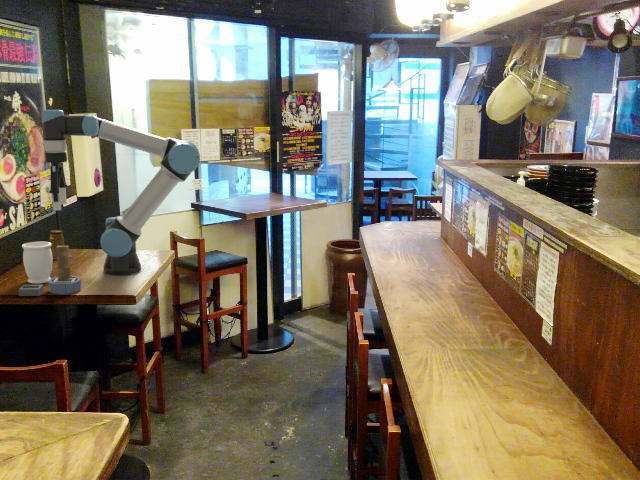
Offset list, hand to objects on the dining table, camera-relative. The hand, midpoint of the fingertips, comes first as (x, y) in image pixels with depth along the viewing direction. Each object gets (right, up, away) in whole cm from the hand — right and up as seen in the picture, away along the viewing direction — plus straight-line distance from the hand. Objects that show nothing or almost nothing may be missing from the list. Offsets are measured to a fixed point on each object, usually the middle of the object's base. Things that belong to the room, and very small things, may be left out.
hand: (60, 207), depth 232 cm
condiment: (-18, -20, +43) cm, 51 cm away
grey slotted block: (-7, -32, -9) cm, 34 cm away
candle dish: (+4, -32, -4) cm, 32 cm away
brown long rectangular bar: (+4, -31, -4) cm, 31 cm away
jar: (-11, -29, +6) cm, 32 cm away
